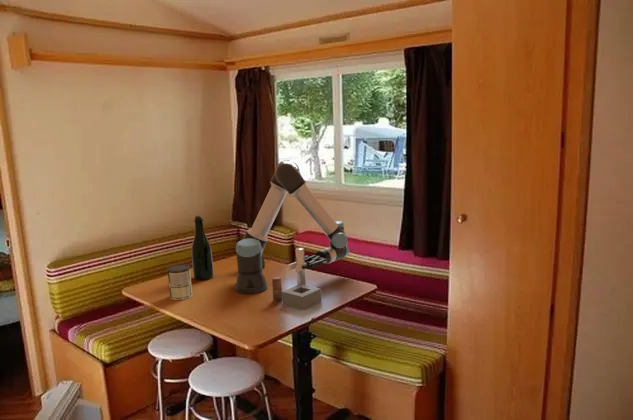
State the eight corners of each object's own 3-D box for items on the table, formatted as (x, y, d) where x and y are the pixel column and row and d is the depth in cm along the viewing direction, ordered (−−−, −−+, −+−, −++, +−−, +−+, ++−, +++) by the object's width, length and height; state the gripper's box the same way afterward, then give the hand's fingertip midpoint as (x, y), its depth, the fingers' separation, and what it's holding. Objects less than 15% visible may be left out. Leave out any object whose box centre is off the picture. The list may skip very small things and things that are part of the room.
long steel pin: (295, 290, 235) (293, 249, 232) (301, 288, 238) (299, 247, 235) (302, 292, 232) (299, 250, 229) (307, 289, 235) (305, 248, 232)
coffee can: (166, 297, 235) (163, 268, 232) (185, 291, 242) (182, 263, 239) (177, 301, 227) (174, 272, 225) (196, 295, 234) (194, 266, 232)
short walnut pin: (271, 300, 223) (270, 279, 221) (277, 297, 226) (276, 276, 224) (277, 302, 221) (276, 280, 219) (284, 299, 224) (282, 278, 222)
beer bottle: (204, 273, 269) (199, 213, 263) (218, 276, 263) (213, 214, 257) (189, 279, 261) (183, 217, 255) (202, 281, 255) (197, 218, 249)
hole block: (282, 304, 217) (281, 291, 216) (301, 296, 226) (300, 284, 225) (303, 310, 209) (302, 296, 208) (321, 301, 218) (320, 288, 217)
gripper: (339, 266, 242) (306, 279, 224) (312, 261, 253) (279, 273, 235) (338, 251, 240) (305, 263, 223) (311, 247, 251) (279, 257, 234)
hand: (292, 268), depth 229 cm, fingers closed on long steel pin, 4 cm apart
